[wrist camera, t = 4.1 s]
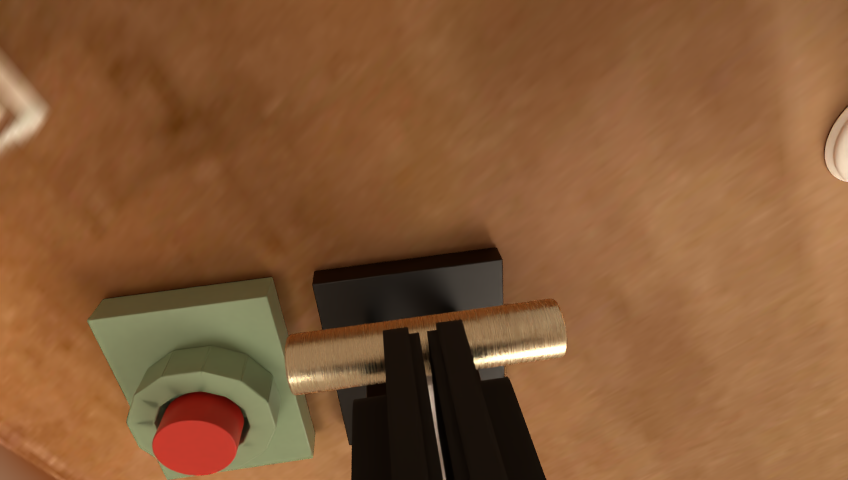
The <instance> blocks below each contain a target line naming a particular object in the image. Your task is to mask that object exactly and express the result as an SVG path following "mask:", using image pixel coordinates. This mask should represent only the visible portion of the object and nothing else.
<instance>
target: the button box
mask: <svg viewBox="0 0 848 480" xmlns="http://www.w3.org/2000/svg"><path fill="white" fill-rule="evenodd" d="M87 322H88V324H89V326H90V328H91V330H92V332H93V334H94V336H95V338H96V340H97V342H98V344H99V346H100V348H101V350H102V351H103V353H104V355H105V357H106V359H107V361H108V363H109V365H110V367H111V369H112V371H113V373H114V375H115V377H116V379H117V381H118V383H119V385H120V387H121V389H122V391H123V393H124V395H125V397H126V399H127V401H128V403H129V405H130V410H129V413H128V417H127V425H128V427H129V429H130V431H131V433H132V435H133V436H134V438H135V440H136V442H137V444H138V446H139V447H140V448H141V449H142V450H144V451H145V452H147V453H149V454H150V455H152V456H153V457H155V458H156V456H155V455H154V452H153V448H152V442H153V438H154V436H155V434H156V431H157V429H158V427H159V424H160V422H161V420H162V417H163V415H164V413H165V410H166V408H167V407H168V405H169V404H170V403H171V402H172V401H173V400H175V399H176V398H178V397H179V396H182V395H184V394H187V393H192V392H207V393H211V394H216V395H220V396H224V397H227V398H228V399H230V400H232V401H233V402H234V403H235V404H236V405H237V406H238V407H239V408H240V410H241V412H242V414H243V417H244V425H243V429H242V433H241V437H240V441H239V445H238V449H237V453H236V456H235V458H234V460H233V461H232V462H231V464H230V465H228V466H227V467H226V468H224V469H223V470H221V471H218V472H223V471H230V470H237V469H243V468H250V467H257V466H263V465H270V464H277V463H283V462H290V461H296V460H303V459H310V458H313V453H314V442H315V431H314V428H313V424H312V420H311V417H310V413H309V409H308V406H307V402H306V398H305V395H304V394H303V395H293V394H292V392H291V390H290V388H289V385H288V382H287V377H286V370H285V344H286V340H287V337H288V332H287V329H286V325H285V321H284V318H283V314H282V311H281V307H280V303H279V300H278V296H277V292H276V289H275V285H274V281H273V278H272V277H268V278H261V279H253V280H246V281H238V282H230V283H223V284H215V285H208V286H200V287H192V288H185V289H177V290H170V291H162V292H154V293H147V294H139V295H132V296H124V297H116V298H109V299H103V300H102V301H101V303H100V304H99V305H98V307H97V308H96V309H95V311H94V312H93V313H92V315H91V316H90V317H89V319H88V320H87ZM156 459H157V458H156ZM157 461H158V459H157ZM158 463H159V464H160V466H161V468H162V470H163V472H164V474H165V476H166V478H167V480H170V479H177V478H183V477H190V476H197V475H186V474H182V473H178V472H175V471H173V470H171V469H169V468H167V467H165V466H164V465H163V464H162V463H160V462H159V461H158ZM216 473H217V472H216Z"/></svg>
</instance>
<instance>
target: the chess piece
mask: <svg viewBox="0 0 848 480" xmlns="http://www.w3.org/2000/svg"><path fill="white" fill-rule="evenodd" d="M825 161H826V165H827V168H828V170H829V171H830V173H831V174H832V175H833V176H834V177H836V178H837V179H839V180H842V181H845V182H848V107H847V108H846V109H845V110H844V112H843V113H842V114H841V115H840V116H839V118H838V119H837V121H836V122H835V124H834V125H833V127H832V129H831V131H830V133H829V136H828V139H827V142H826V147H825Z"/></svg>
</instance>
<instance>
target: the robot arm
mask: <svg viewBox="0 0 848 480" xmlns="http://www.w3.org/2000/svg"><path fill="white" fill-rule="evenodd" d="M427 337H428V346H429V355H430V365H431V374H432V383H433V392H434V401H435V411H436V420H437V428H438V434H439V441H440V447H441V452H442V458H443V464H444V470H445V476H446V480H546V478H545V475H544V472H543V470H542V467H541V464H540V461H539V459H538V456H537V453H536V450H535V448H534V445H533V442H532V439H531V436H530V434H529V431H528V428H527V425H526V423H525V420H524V417H523V414H522V412H521V409H520V406H519V403H518V401H517V398H516V395H515V392H514V390H513V387H512V384H511V382H510V380H509V378H508V377H503V378H496V379H489V380H482V381H479V377H478V374H477V370H476V367H475V363H474V360H473V356H472V353H471V350H470V346H469V343H468V339H467V336H466V332H465V329H464V325H463V322H462V320H461V319H460V320H453V321H446V322H438V323H436V330H431V331H427ZM383 345H384V361H385V376H386V391H387V395H381V396H374V397H367V398H361V399H354V400H353V407H352V475H351V480H443V476H442V469H441V463H440V457H439V451H438V445H437V439H436V433H435V427H434V421H433V414H432V408H431V402H430V396H429V390H428V384H427V378H426V372H425V366H424V359H423V353H422V347H421V341H420V335H419V332H417V333H410V334H409V331H408V327H403V328H396V329H389V330H383Z"/></svg>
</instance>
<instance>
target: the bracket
mask: <svg viewBox="0 0 848 480" xmlns="http://www.w3.org/2000/svg"><path fill="white" fill-rule="evenodd" d="M312 285H313V290H314V294H315V298H316V303H317V307H318V311H319V316H320V320H321V324H322V329H323V330H326V329H333V328H340V327H347V326H355V325H362V324H369V323H377V322H384V321H391V320H398V319H406V318H413V317H420V316H427V315H435V314H442V313H449V312H456V311H464V310H471V309H478V308H486V307H493V306H500V305H503V265H502V258H501V256H500V254H499V251H498V249H497V248H488V249H481V250H473V251H466V252H458V253H450V254H443V255H435V256H428V257H420V258H412V259H405V260H397V261H390V262H382V263H374V264H367V265H359V266H352V267H344V268H336V269H329V270H321V271H315V272H314V277H313V284H312ZM476 370H477V374H478V377H479V381H482V380H489V379H496V378H503V377H504V366H497V367H490V368H483V369H476ZM337 394H338V398H339V402H340V407H341V411H342V415H343V420H344V424H345V428H346V433H347V437H348V441H349V445H352V407H353V400H354V399H361V398H367V397H374V396H381V395H387V391H386V383H379V384H372V385H365V386H358V387H351V388H344V389H337Z"/></svg>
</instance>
